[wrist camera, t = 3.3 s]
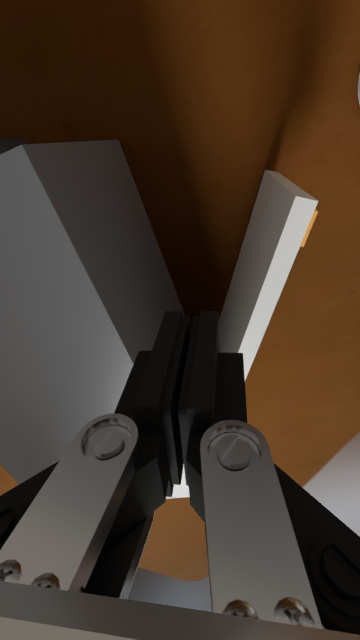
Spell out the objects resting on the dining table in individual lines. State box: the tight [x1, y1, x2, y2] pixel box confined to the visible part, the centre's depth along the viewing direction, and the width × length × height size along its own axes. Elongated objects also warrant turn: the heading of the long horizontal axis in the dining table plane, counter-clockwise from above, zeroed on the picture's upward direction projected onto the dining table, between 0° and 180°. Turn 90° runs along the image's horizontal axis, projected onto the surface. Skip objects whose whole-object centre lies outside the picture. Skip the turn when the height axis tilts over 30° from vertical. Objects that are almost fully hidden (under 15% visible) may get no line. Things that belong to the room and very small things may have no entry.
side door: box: [219, 170, 318, 380], centre depth 19 cm, size 16×2×9 cm, turn 169°
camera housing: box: [0, 138, 190, 499], centre depth 20 cm, size 21×12×12 cm, turn 19°
